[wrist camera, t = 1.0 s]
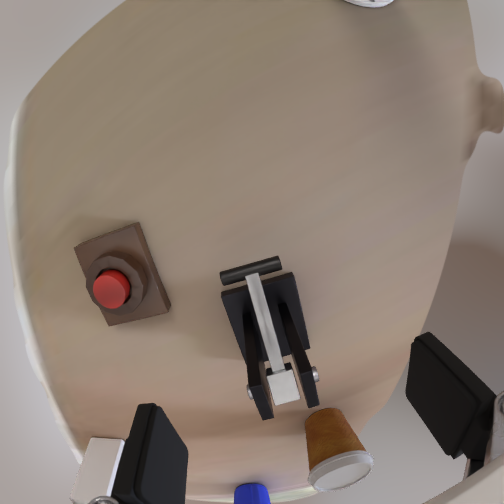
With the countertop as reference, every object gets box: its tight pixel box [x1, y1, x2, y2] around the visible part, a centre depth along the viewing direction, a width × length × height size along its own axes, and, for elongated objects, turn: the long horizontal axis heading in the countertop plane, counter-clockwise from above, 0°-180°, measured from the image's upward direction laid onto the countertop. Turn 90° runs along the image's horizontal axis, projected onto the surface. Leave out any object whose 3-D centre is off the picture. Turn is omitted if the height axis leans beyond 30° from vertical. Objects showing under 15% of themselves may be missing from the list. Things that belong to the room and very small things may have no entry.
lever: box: [220, 256, 301, 406], centre depth 23 cm, size 12×5×2 cm, turn 16°
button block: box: [74, 222, 171, 326], centre depth 29 cm, size 10×8×4 cm
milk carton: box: [70, 437, 125, 504], centre depth 31 cm, size 7×7×19 cm
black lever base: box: [221, 272, 319, 420], centre depth 27 cm, size 10×8×13 cm
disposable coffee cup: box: [305, 408, 374, 492], centre depth 34 cm, size 10×10×12 cm
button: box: [93, 269, 130, 309], centre depth 27 cm, size 4×4×2 cm
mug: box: [234, 483, 271, 504], centre depth 41 cm, size 8×12×10 cm
